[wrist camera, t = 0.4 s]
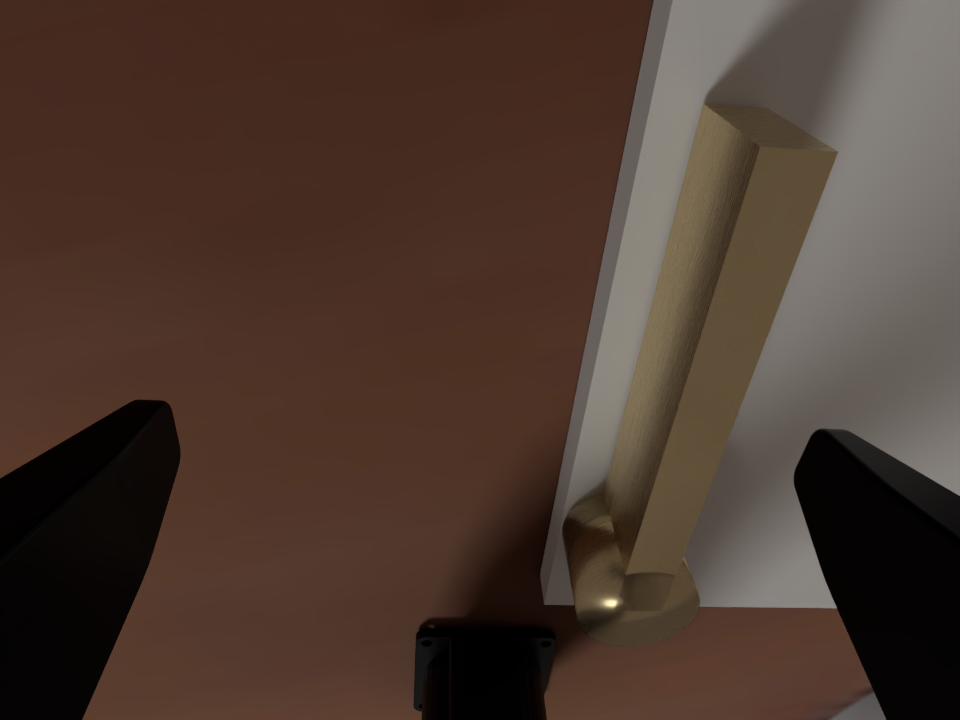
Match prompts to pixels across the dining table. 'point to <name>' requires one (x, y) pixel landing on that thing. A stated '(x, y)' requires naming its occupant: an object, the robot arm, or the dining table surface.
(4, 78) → the dining table surface
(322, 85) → the dining table surface
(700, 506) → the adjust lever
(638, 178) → the base
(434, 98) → the dining table surface
